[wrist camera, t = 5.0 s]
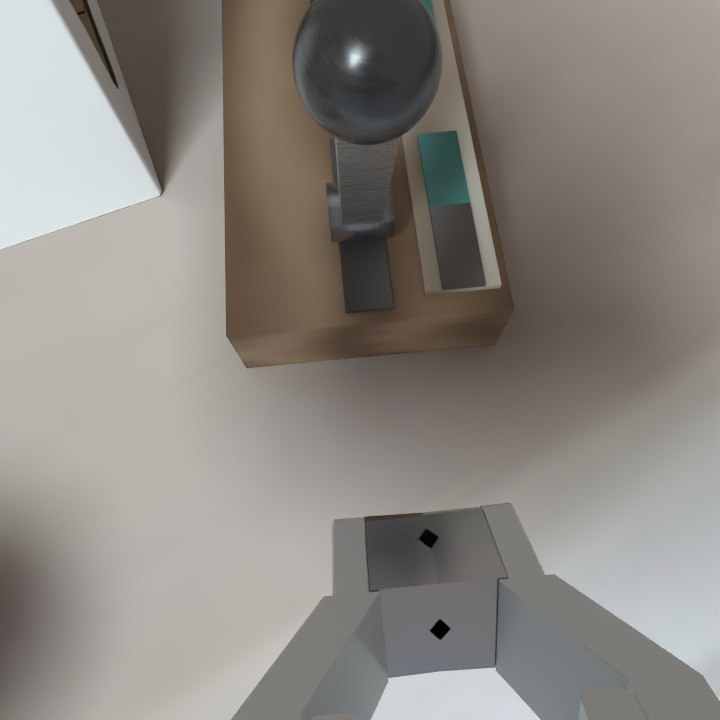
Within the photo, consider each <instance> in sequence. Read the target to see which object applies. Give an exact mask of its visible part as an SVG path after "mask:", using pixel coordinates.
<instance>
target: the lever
mask: <svg viewBox="0 0 720 720" xmlns="http://www.w3.org/2000/svg"><path fill="white" fill-rule="evenodd" d="M292 66H293V76H294V82H295V85H296V88H297V92H298V94H299V97H300V99H301V101H302V104H303V105H304V107H305V109H306V110H307V112H308V113H309V115H310V116H311V117H312V118H313V120H314V121H315V122H316V123H317V124H318V125H319V126H320V127H321V128H322V129H323V130H325V131H326V132H328V133H329V134H331V135H332V136H334V137H335V147H336V160H337V174H338V182H333V183H326V193H327V204H328V214H329V224H330V233H331V241H332V242H341V241H352V240H363V239H374V238H385V237H393V236H394V205H393V195H392V187H391V177H392V172H393V168H394V163H395V158H396V154H397V149H398V144H399V139H400V136H402V135H404V134H405V133H407V132H408V131H409V130H411V129H412V128H413V127H414V126H415V125H416V124H417V123H418V122H419V121H420V120H421V119H422V118H423V117H424V115H425V114H426V112H427V111H428V110H429V108H430V106H431V104H432V102H433V100H434V98H435V96H436V93H437V91H438V88H439V84H440V80H441V75H442V66H443V55H442V45H441V39H440V35H439V32H438V29H437V26H436V23H435V21H434V19H433V17H432V15H431V13H430V12H429V10H428V8H427V7H426V6H425V4H424V3H423V2H422V1H421V0H314V1H313V2H312V4H311V5H310V6H309V8H308V9H307V11H306V12H305V14H304V16H303V18H302V20H301V22H300V24H299V27H298V30H297V32H296V36H295V40H294V46H293V54H292Z"/></svg>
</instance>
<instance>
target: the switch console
mask: <svg viewBox="0 0 720 720" xmlns="http://www.w3.org/2000/svg"><path fill="white" fill-rule="evenodd" d="M421 1H422V2H423V3H424V4H425V6H426V7H427V8H428V10H429V12H430V13H431V15H432V17H433V19H434V21H435V23H436V26H437V29H438V32H439V35H440V39H441V45H442V55H443V66H442V75H441V80H440V84H439V88H438V91H437V93H436V96H435V98H434V100H433V102H432V104H431V106H430V108H429V110H428V111H427V112H426V114H425V115H424V117H423V118H422V119H421V120H420V121H419V122H418V123H417V124H416V125H415V126H414V127H413V128H412V129H411V130H409V131H408V132H407V133H405V134H404V135H402V136H400V139H399V144H398V149H397V154H396V158H395V163H394V168H393V172H392V177H391V187H392V195H393V205H394V236H393V237H385V238H374V239H363V240H352V241H341V242H332V241H331V233H330V224H329V214H328V204H327V193H326V183H333V182H338V174H337V160H336V147H335V137H334V136H332V135H331V134H329V133H328V132H326V131H325V130H323V129H322V128H321V127H320V126H319V125H318V124H317V123H316V122H315V121H314V120H313V118H312V117H311V116H310V115H309V113H308V112H307V110H306V109H305V107H304V105H303V104H302V101H301V99H300V97H299V94H298V92H297V88H296V85H295V82H294V76H293V66H292V54H293V46H294V40H295V36H296V32H297V30H298V27H299V24H300V22H301V20H302V18H303V16H304V14H305V12H306V11H307V9H308V8H309V6H310V0H222V41H223V118H224V195H225V272H226V336H227V338H228V339H229V341H230V342H231V344H232V346H233V347H234V349H235V350H236V352H237V354H238V355H239V357H240V358H241V360H242V362H243V363H244V365H245V366H246V368H251V367H262V366H272V365H283V364H293V363H304V362H314V361H324V360H335V359H345V358H356V357H366V356H377V355H387V354H398V353H408V352H419V351H429V350H440V349H450V348H461V347H471V346H482V345H492V344H495V342H496V340H497V338H498V337H499V335H500V333H501V331H502V329H503V328H504V326H505V324H506V322H507V320H508V319H509V317H510V315H511V313H512V311H513V309H514V306H513V301H512V297H511V292H510V287H509V282H508V278H507V273H506V268H505V263H504V258H503V254H502V249H501V244H500V239H499V235H498V230H497V225H496V220H495V216H494V211H493V206H492V201H491V197H490V192H489V187H488V182H487V177H486V173H485V168H484V163H483V158H482V154H481V149H480V144H479V139H478V135H477V130H476V125H475V120H474V116H473V111H472V106H471V101H470V96H469V92H468V87H467V82H466V77H465V73H464V68H463V63H462V58H461V54H460V49H459V44H458V39H457V35H456V30H455V25H454V20H453V15H452V11H451V6H450V1H449V0H421Z"/></svg>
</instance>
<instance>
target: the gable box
mask: <svg viewBox="0 0 720 720" xmlns="http://www.w3.org/2000/svg"><path fill="white" fill-rule="evenodd" d="M161 192H162V189H161V186H160V183H159V181H158V178H157V175H156V172H155V169H154V166H153V163H152V160H151V157H150V154H149V151H148V148H147V145H146V142H145V139H144V136H143V134H142V131H141V128H140V125H139V122H138V119H137V116H136V113H135V110H134V107H133V104H132V101H131V98H130V95H129V92H128V89H127V87H126V84H125V81H124V78H123V75H122V72H121V69H120V66H119V63H118V60H117V57H116V54H115V51H114V48H113V45H112V43H111V40H110V37H109V34H108V31H107V28H106V25H105V22H104V19H103V16H102V13H101V10H100V7H99V4H98V1H97V0H0V250H1V249H4V248H7V247H9V246H12V245H15V244H18V243H21V242H24V241H27V240H30V239H33V238H36V237H39V236H42V235H45V234H48V233H51V232H54V231H57V230H60V229H63V228H66V227H69V226H72V225H75V224H78V223H81V222H83V221H86V220H89V219H92V218H95V217H98V216H101V215H104V214H107V213H110V212H113V211H116V210H119V209H122V208H125V207H128V206H131V205H134V204H137V203H140V202H143V201H146V200H149V199H152V198H155V197H157V196H160V194H161Z"/></svg>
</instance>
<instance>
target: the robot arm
mask: <svg viewBox="0 0 720 720" xmlns="http://www.w3.org/2000/svg"><path fill="white" fill-rule="evenodd" d="M364 524H365V529H364ZM365 537H366V539H365ZM332 545H333V596H325V597H323V598H322V599H321V601H320V602H319V603H318V605H317V606H316V607H315V609H314V610H313V611H312V613H311V614H310V615H309V617H308V618H307V619H306V621H305V622H304V623H303V625H302V626H301V627H300V629H299V630H298V631H297V633H296V634H295V635H294V637H293V638H292V639H291V641H290V642H289V643H288V645H287V646H286V647H285V649H284V650H283V651H282V653H281V654H280V655H279V657H278V658H277V659H276V661H275V662H274V663H273V665H272V666H271V667H270V669H269V670H268V671H267V673H266V674H265V675H264V677H263V678H262V679H261V681H260V682H259V683H258V685H257V686H256V687H255V689H254V690H253V691H252V693H251V694H250V695H249V697H248V698H247V699H246V701H245V702H244V703H243V705H242V706H241V707H240V709H239V710H238V711H237V712H236V714H235V715H234V716H233V718H232V719H231V720H371V718H372V715H373V713H374V711H375V709H376V707H377V704H378V702H379V700H380V698H381V696H382V693H383V691H384V689H385V687H386V685H387V682H388V678H391V677H399V676H407V675H415V674H423V673H430V672H438V671H451V670H465V669H480V668H494V667H496V671H497V672H498V673H499V674H500V675H501V676H502V677H503V678H504V680H505V681H506V682H507V683H508V684H509V685H510V686H511V687H512V688H513V689H514V691H515V692H516V693H517V694H518V695H519V696H520V697H521V698H522V699H523V700H524V701H525V703H526V704H527V705H528V706H529V707H530V708H531V709H532V710H533V711H534V712H535V714H536V715H537V716H538V717H539V718H540V719H541V720H720V701H719V700H718V698H717V697H716V695H715V694H714V692H713V691H712V689H711V688H710V686H709V685H708V683H707V681H706V680H705V678H704V677H703V675H701V674H700V673H698V672H697V671H695V670H694V669H692V668H691V667H690V666H688V665H687V664H685V663H684V662H682V661H681V660H679V659H678V658H676V657H675V656H673V655H672V654H671V653H669V652H668V651H666V650H665V649H663V648H662V647H660V646H659V645H657V644H656V643H654V642H653V641H651V640H650V639H649V638H647V637H646V636H644V635H643V634H641V633H640V632H638V631H637V630H635V629H634V628H632V627H631V626H629V625H628V624H627V623H625V622H624V621H622V620H621V619H619V618H618V617H616V616H615V615H613V614H612V613H610V612H609V611H608V610H606V609H605V608H603V607H602V606H600V605H599V604H597V603H596V602H594V601H593V600H591V599H590V598H588V597H587V596H586V595H584V594H583V593H581V592H580V591H578V590H577V589H575V588H574V587H572V586H571V585H569V584H568V583H566V582H565V581H564V580H562V579H561V578H559V577H558V576H556V575H555V574H553V575H545V573H544V571H543V569H542V567H541V565H540V563H539V561H538V558H537V556H536V554H535V552H534V550H533V548H532V546H531V543H530V541H529V539H528V537H527V535H526V533H525V530H524V528H523V526H522V524H521V522H520V520H519V518H518V515H517V513H516V511H515V509H514V507H513V506H512V505H511V504H510V503H503V504H495V505H486V506H480V507H474V508H464V509H454V510H444V511H435V512H425V513H411V514H397V515H383V516H369V517H364V520H363V518H362V517H361V518H348V519H335V520H334V521H333V525H332Z"/></svg>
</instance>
